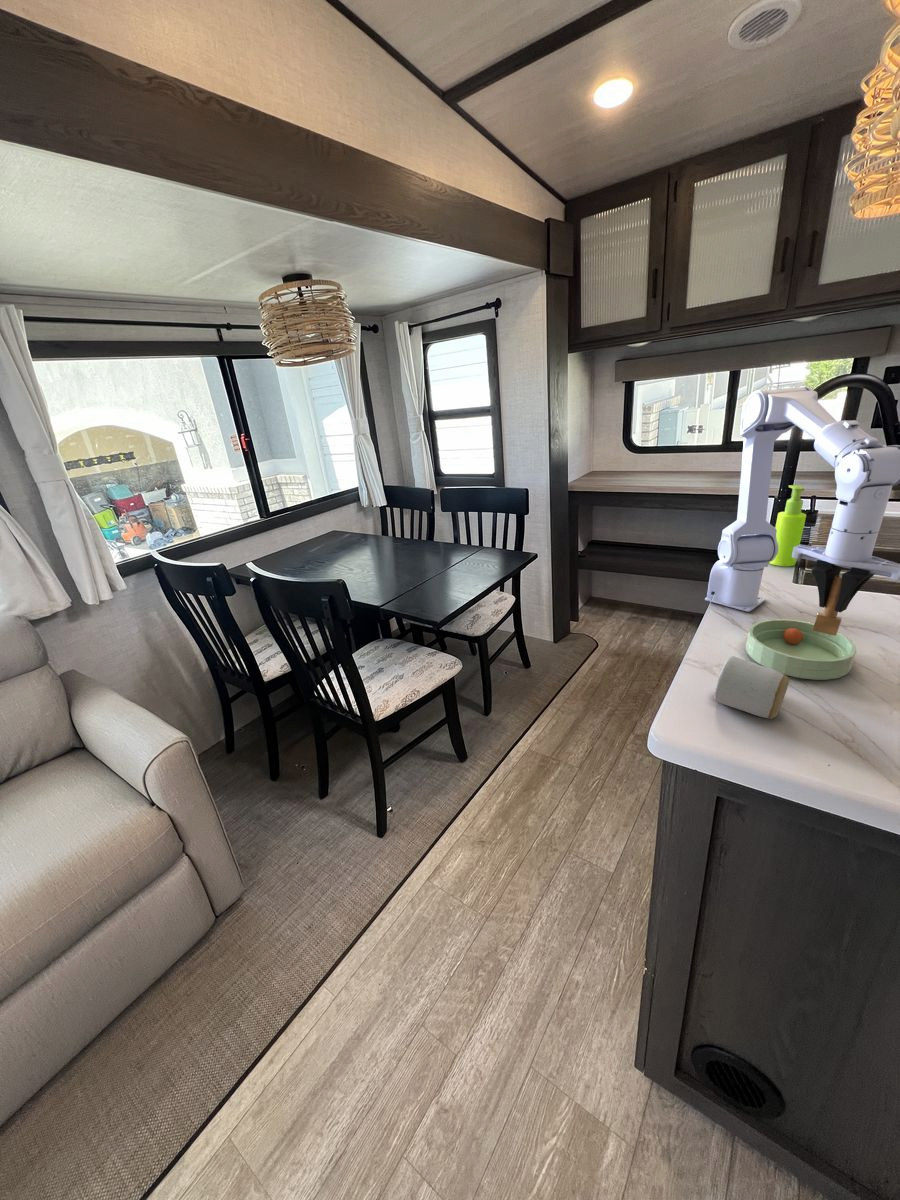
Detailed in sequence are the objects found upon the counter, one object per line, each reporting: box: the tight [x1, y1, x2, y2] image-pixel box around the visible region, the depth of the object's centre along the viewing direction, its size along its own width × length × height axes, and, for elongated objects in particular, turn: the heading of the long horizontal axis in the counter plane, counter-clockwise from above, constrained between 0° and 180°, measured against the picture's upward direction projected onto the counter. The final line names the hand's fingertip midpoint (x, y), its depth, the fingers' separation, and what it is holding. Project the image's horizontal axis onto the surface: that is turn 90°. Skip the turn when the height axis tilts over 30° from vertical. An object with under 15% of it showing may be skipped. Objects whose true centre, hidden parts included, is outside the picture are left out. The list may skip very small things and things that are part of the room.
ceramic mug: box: [713, 655, 790, 720], centre depth 71 cm, size 11×8×8 cm
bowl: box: [745, 618, 857, 681], centre depth 82 cm, size 15×15×4 cm
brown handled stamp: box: [813, 574, 843, 636], centre depth 77 cm, size 3×2×10 cm, turn 46°
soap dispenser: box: [768, 484, 807, 567], centre depth 120 cm, size 6×7×20 cm
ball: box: [783, 628, 803, 644], centre depth 86 cm, size 3×3×3 cm
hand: (832, 607), depth 78 cm, fingers closed on brown handled stamp, 2 cm apart
